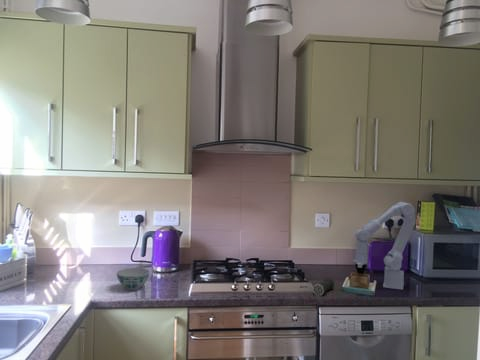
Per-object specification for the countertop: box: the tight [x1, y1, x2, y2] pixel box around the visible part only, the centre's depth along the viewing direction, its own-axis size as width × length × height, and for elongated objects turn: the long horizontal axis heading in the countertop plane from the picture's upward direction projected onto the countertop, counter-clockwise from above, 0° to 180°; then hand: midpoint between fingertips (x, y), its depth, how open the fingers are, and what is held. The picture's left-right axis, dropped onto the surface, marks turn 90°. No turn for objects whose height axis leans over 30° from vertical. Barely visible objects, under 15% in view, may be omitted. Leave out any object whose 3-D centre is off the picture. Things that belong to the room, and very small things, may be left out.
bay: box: [341, 276, 377, 296], centre depth 196 cm, size 15×20×2 cm
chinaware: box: [116, 267, 150, 291], centre depth 184 cm, size 15×15×8 cm
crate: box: [349, 272, 371, 289], centre depth 196 cm, size 9×7×6 cm
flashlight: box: [312, 278, 335, 297], centre depth 188 cm, size 15×5×5 cm, turn 146°
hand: (360, 278), depth 201 cm, fingers closed
